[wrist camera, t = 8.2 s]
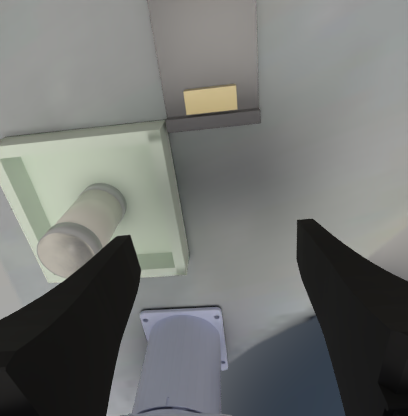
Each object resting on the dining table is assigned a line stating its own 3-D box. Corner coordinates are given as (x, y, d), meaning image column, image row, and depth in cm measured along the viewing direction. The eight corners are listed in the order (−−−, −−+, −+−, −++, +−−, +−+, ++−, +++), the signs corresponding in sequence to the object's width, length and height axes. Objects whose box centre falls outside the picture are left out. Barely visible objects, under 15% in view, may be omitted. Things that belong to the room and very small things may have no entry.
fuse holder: (258, 118, 20) (260, 123, 19) (170, 128, 21) (167, 133, 20) (253, -71, 15) (255, -79, 14) (139, -52, 16) (134, -59, 15)
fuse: (130, 221, 24) (103, 278, 18) (88, 223, 24) (48, 280, 19) (121, 181, 22) (88, 230, 17) (76, 184, 22) (27, 233, 17)
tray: (189, 255, 26) (186, 274, 24) (62, 263, 27) (48, 283, 25) (165, 119, 20) (159, 129, 18) (6, 136, 21) (-18, 148, 19)
